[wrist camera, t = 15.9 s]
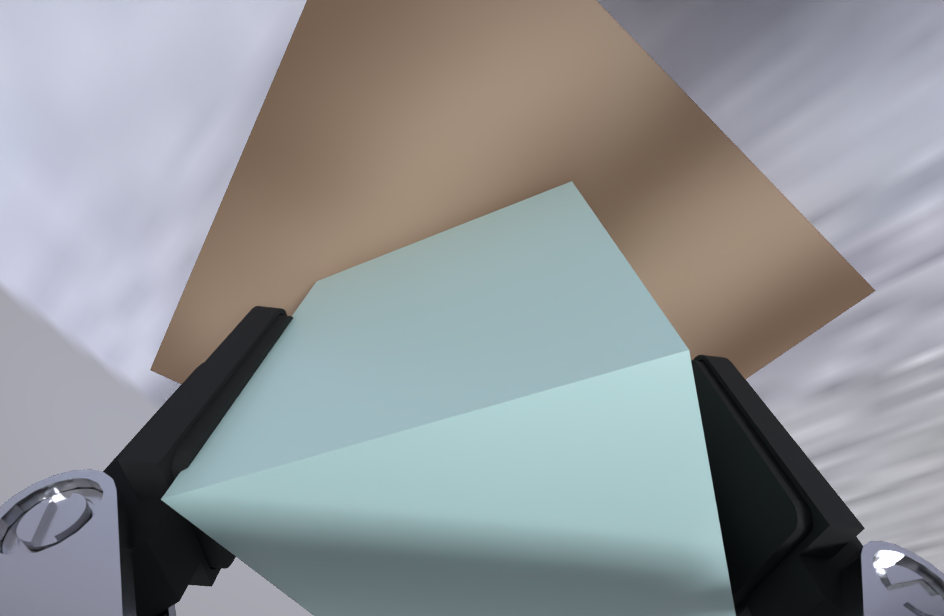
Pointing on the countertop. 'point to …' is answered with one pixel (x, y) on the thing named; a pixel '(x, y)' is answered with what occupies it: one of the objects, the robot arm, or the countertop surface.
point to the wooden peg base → (501, 172)
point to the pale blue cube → (473, 436)
